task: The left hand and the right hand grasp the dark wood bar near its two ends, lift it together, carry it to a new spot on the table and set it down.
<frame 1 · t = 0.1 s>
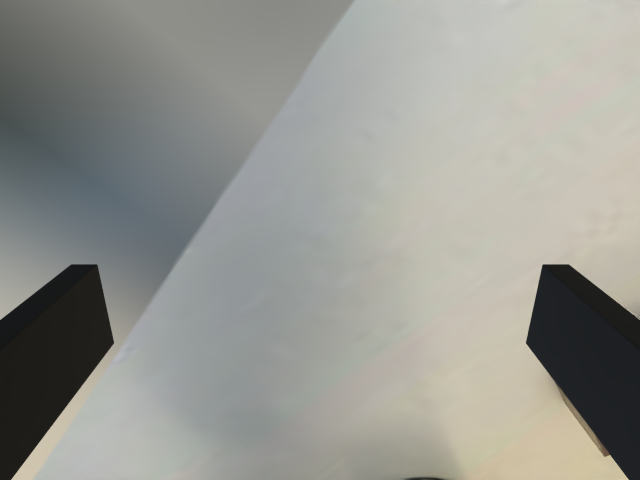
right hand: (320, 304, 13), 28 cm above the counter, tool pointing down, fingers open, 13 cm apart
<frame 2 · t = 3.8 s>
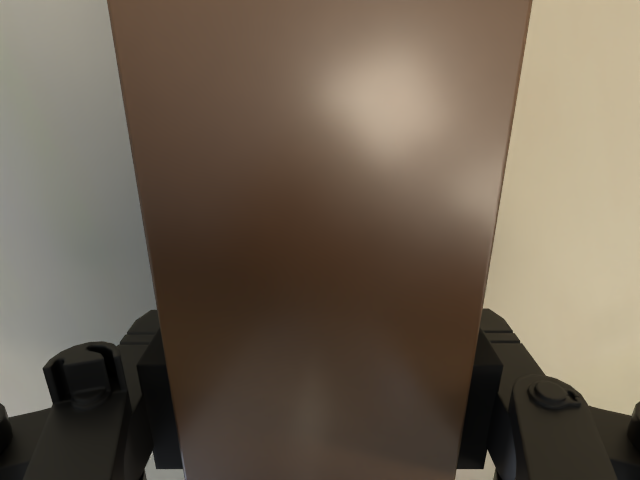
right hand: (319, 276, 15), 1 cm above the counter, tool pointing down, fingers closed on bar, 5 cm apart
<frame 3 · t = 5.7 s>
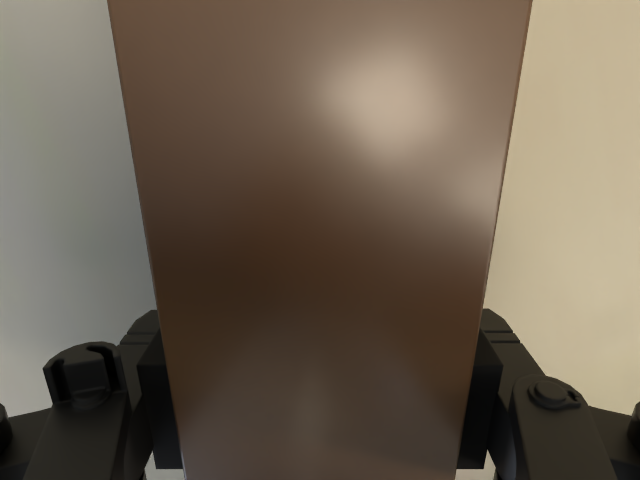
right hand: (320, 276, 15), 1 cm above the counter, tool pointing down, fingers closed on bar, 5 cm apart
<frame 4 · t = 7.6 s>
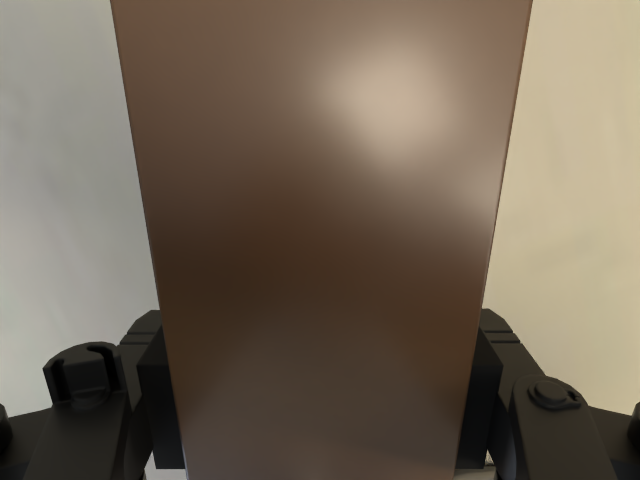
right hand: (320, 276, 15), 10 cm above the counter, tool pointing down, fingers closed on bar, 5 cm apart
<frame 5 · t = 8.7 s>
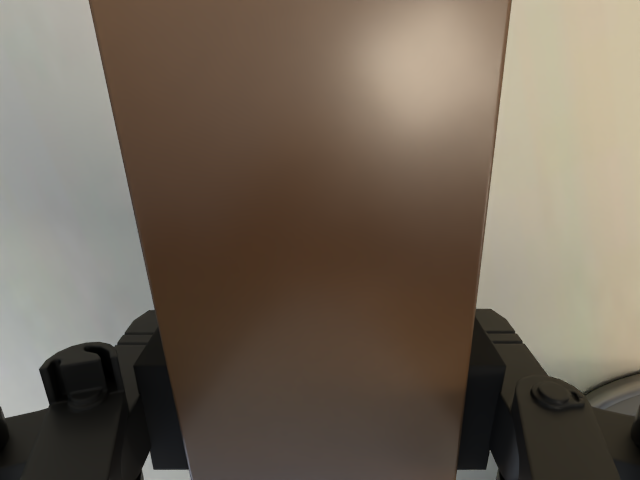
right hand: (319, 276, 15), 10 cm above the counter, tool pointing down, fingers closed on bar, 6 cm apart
when the right hand's fingers open (1 cm above the counter, at t = 11.3 s): bar stays where it is, held by the left hand.
when the left hand's fingers open (3 cm above the counter, at t = 11.6 s): bar stays where it is, on the counter.
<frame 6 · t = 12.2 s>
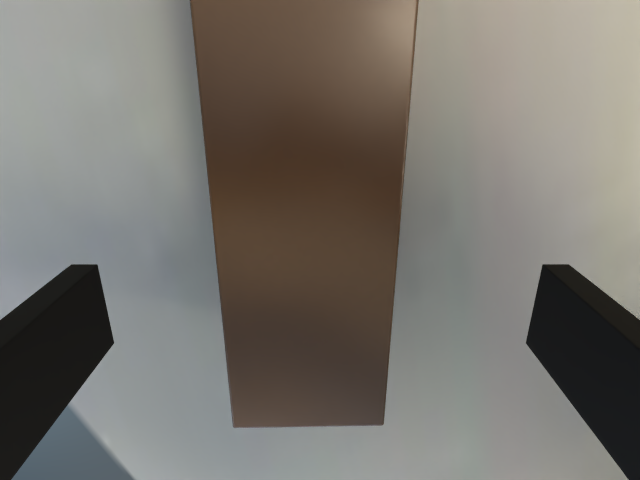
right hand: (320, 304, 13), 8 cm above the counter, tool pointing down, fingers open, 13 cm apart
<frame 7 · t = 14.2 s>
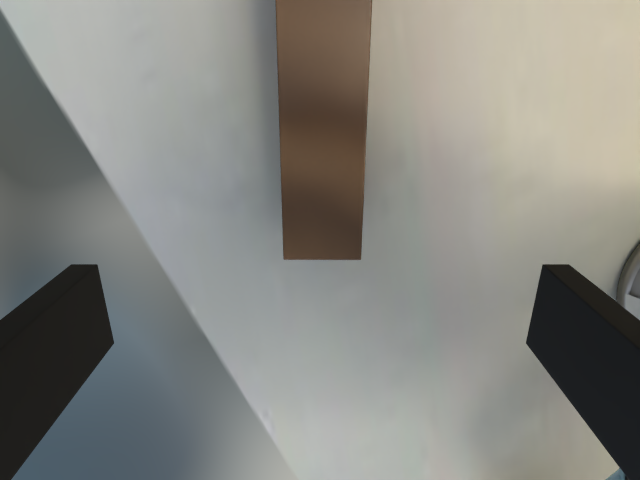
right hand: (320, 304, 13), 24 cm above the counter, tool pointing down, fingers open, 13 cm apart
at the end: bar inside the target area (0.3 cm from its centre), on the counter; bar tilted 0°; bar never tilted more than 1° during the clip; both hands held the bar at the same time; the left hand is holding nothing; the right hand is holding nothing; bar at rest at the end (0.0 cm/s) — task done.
